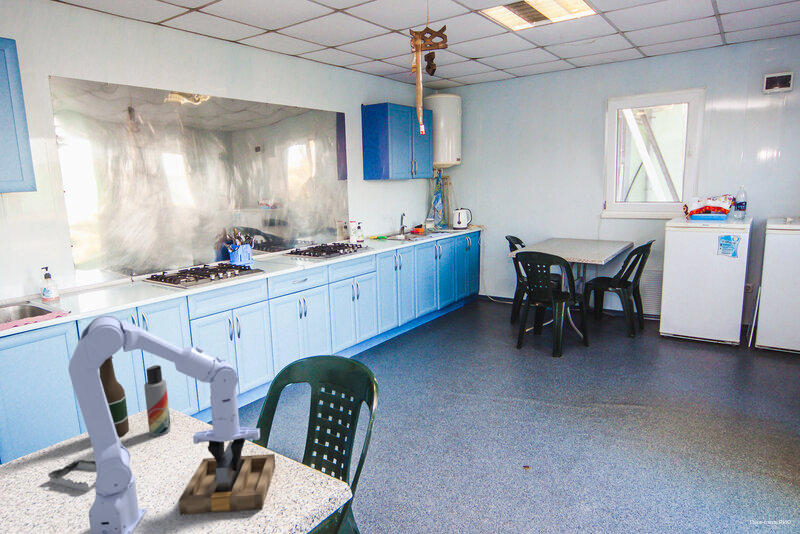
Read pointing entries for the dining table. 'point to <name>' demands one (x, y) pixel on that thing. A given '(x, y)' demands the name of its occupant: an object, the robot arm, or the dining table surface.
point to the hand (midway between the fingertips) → (229, 469)
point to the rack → (243, 495)
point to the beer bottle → (114, 397)
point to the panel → (227, 471)
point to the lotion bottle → (157, 402)
